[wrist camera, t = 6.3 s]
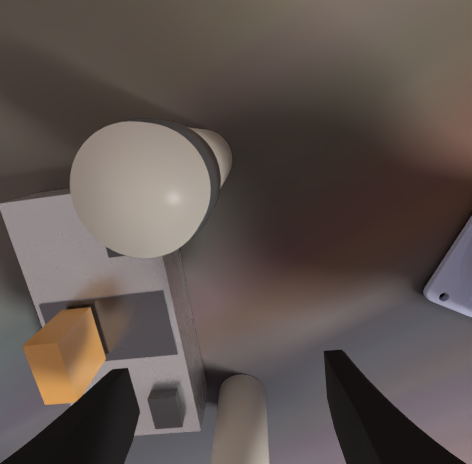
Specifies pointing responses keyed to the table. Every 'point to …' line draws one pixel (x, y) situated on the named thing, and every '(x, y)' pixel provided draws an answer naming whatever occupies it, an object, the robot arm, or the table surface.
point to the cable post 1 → (148, 184)
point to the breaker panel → (115, 307)
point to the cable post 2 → (241, 423)
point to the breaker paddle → (65, 355)
